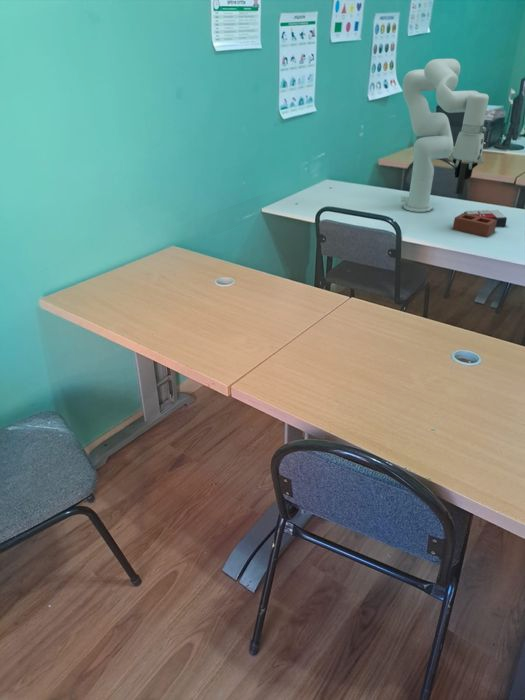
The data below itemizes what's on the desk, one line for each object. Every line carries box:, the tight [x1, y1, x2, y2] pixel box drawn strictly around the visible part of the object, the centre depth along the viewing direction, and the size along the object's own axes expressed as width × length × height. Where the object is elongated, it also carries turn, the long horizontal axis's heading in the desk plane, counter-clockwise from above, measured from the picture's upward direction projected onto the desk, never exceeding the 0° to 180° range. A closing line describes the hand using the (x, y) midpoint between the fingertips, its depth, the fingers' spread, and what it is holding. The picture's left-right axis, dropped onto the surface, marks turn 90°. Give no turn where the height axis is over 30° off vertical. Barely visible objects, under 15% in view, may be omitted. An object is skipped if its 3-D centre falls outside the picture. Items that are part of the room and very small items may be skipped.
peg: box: [454, 161, 469, 195], centre depth 208 cm, size 4×4×12 cm
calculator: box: [463, 209, 508, 228], centre depth 223 cm, size 11×4×15 cm
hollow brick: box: [452, 212, 497, 238], centre depth 214 cm, size 15×8×5 cm, turn 48°
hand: (462, 177), depth 207 cm, fingers closed on peg, 3 cm apart
